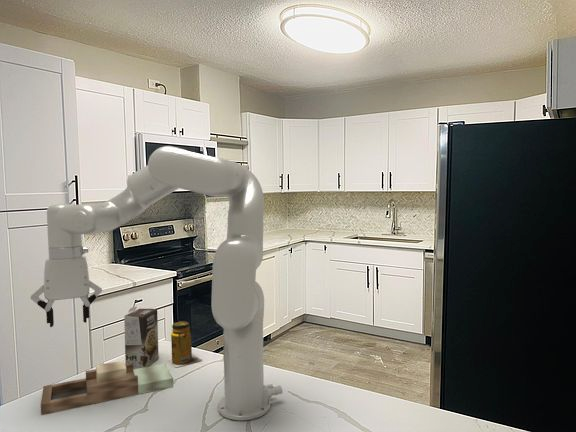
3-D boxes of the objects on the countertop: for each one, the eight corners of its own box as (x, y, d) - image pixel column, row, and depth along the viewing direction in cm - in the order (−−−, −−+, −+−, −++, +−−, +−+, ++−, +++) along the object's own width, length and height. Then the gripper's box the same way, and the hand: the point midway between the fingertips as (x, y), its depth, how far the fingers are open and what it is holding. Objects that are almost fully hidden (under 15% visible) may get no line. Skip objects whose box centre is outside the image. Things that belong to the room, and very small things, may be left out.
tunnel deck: (165, 371, 125) (164, 356, 125) (173, 386, 116) (172, 370, 115) (43, 395, 111) (43, 378, 111) (41, 415, 102) (40, 396, 101)
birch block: (124, 374, 118) (123, 360, 118) (126, 383, 113) (126, 368, 112) (96, 379, 115) (95, 365, 114) (97, 389, 109) (97, 373, 109)
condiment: (167, 360, 134) (166, 322, 133) (192, 354, 139) (191, 317, 138) (176, 368, 128) (175, 328, 127) (202, 361, 133) (201, 323, 132)
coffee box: (144, 370, 127) (142, 316, 126) (124, 368, 128) (123, 315, 127) (159, 358, 135) (158, 308, 135) (141, 357, 137) (139, 307, 136)
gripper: (102, 249, 115) (104, 314, 116) (26, 254, 107) (30, 324, 108) (104, 252, 108) (106, 322, 109) (23, 258, 100) (27, 333, 101)
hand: (68, 322), depth 108 cm, fingers open, 6 cm apart
